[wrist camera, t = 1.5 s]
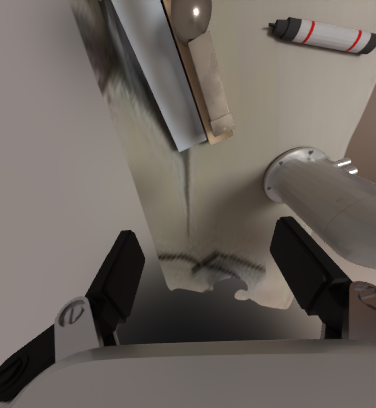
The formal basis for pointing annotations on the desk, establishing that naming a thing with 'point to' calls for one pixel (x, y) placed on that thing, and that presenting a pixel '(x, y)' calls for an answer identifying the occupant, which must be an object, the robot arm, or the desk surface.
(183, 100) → the doorframe
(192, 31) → the door handle
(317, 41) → the marker
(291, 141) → the desk surface
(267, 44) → the desk surface
